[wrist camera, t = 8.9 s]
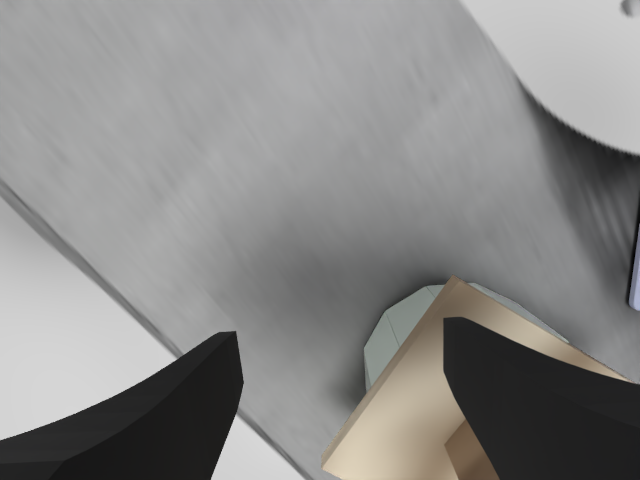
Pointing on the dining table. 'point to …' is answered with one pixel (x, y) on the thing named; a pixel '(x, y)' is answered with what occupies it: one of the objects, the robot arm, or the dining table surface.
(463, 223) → the dining table surface
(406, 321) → the celadon bowl
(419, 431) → the birch lid
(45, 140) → the dining table surface
